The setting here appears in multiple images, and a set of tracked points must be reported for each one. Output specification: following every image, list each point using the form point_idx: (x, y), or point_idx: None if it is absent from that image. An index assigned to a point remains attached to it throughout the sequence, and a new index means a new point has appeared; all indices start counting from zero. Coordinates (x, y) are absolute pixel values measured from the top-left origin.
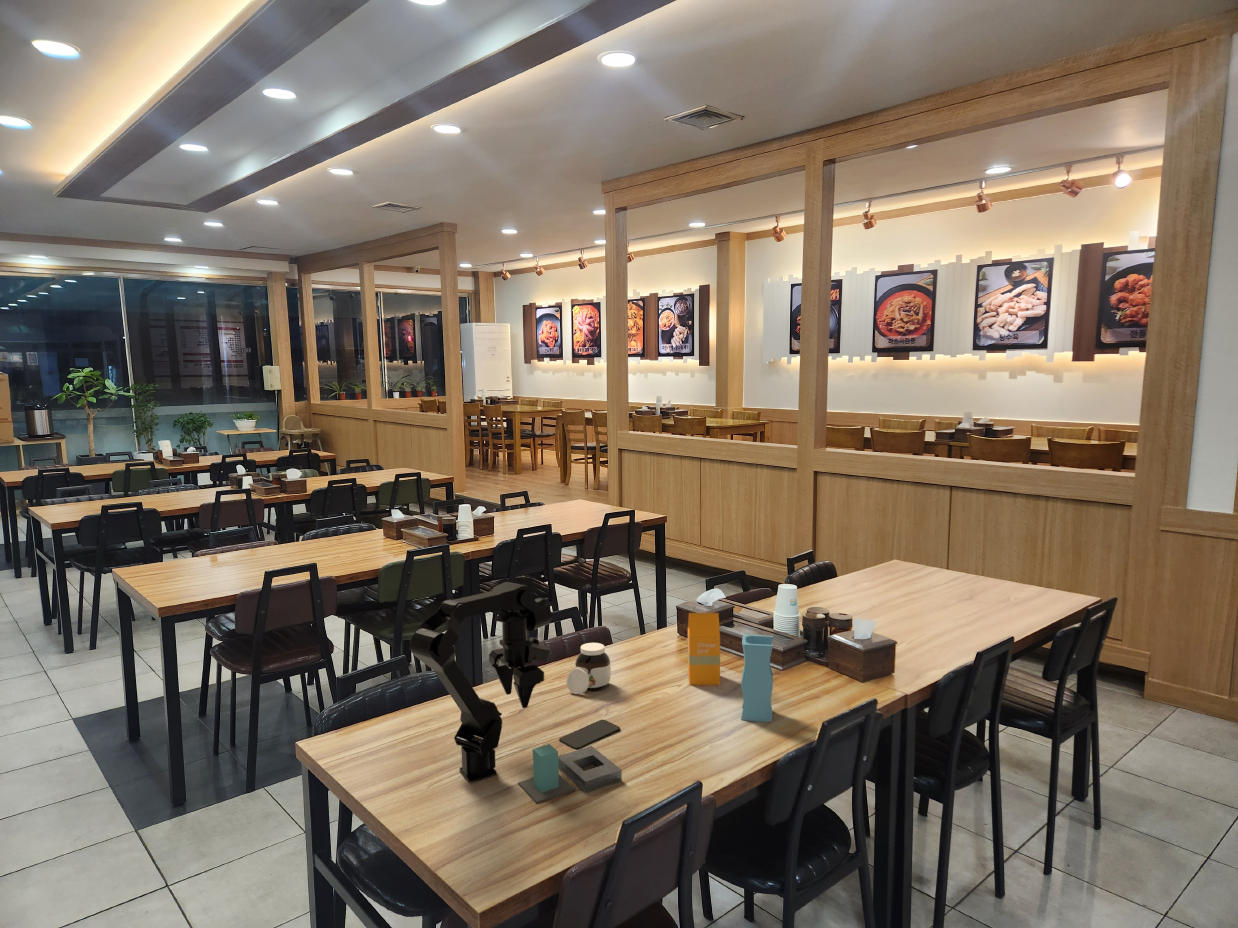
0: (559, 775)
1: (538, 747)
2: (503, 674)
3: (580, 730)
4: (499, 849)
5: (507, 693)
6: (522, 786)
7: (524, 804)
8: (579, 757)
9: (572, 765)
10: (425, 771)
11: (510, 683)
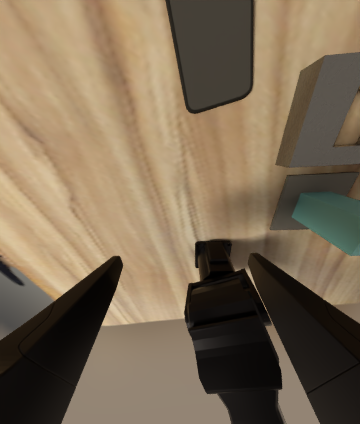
0: (305, 176)
1: (358, 245)
2: (62, 377)
3: (179, 23)
4: (348, 275)
5: (121, 267)
6: (283, 229)
7: (312, 237)
8: (335, 124)
9: (342, 155)
10: (179, 285)
11: (95, 291)
